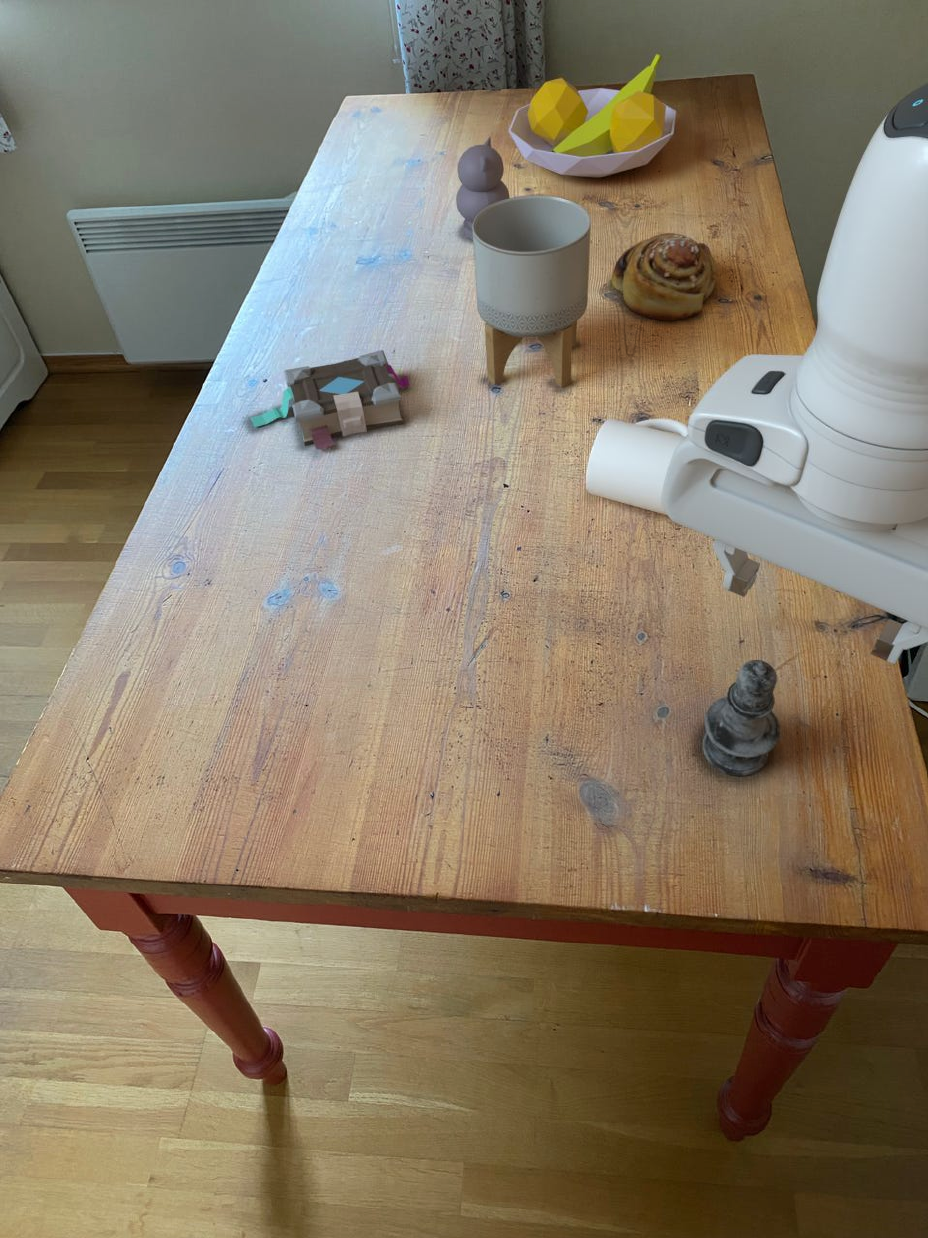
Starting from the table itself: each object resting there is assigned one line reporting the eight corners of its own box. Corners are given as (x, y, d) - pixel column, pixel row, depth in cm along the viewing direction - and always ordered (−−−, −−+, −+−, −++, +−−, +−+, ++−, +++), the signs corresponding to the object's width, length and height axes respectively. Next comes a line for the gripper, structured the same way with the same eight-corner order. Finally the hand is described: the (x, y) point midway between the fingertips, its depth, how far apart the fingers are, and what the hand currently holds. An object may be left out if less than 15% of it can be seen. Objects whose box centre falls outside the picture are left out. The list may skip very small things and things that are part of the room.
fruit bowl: (561, 212, 135) (562, 133, 126) (484, 147, 152) (481, 74, 143) (716, 166, 141) (728, 88, 133) (627, 109, 158) (632, 37, 149)
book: (259, 467, 101) (248, 432, 97) (247, 406, 109) (237, 371, 105) (428, 429, 104) (423, 393, 100) (404, 371, 111) (400, 336, 108)
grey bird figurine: (460, 217, 136) (454, 134, 127) (512, 215, 135) (509, 132, 126) (455, 245, 131) (449, 160, 122) (509, 244, 130) (506, 159, 121)
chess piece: (775, 728, 75) (808, 640, 66) (766, 787, 71) (799, 703, 62) (705, 711, 76) (727, 623, 67) (693, 769, 73) (714, 684, 64)
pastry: (652, 330, 114) (659, 271, 107) (594, 277, 123) (597, 220, 116) (740, 301, 116) (751, 243, 110) (677, 252, 125) (684, 195, 119)
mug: (675, 534, 90) (685, 474, 84) (583, 508, 94) (586, 448, 87) (710, 462, 97) (721, 402, 91) (623, 440, 100) (628, 380, 94)
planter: (540, 321, 117) (540, 183, 103) (606, 364, 109) (615, 223, 96) (460, 359, 112) (449, 221, 99) (524, 407, 105) (521, 265, 92)
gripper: (1125, 478, 41) (1004, 659, 52) (716, 346, 50) (685, 525, 60) (1090, 562, 38) (969, 736, 48) (661, 406, 47) (638, 583, 57)
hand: (809, 618), depth 54 cm, fingers open, 8 cm apart
